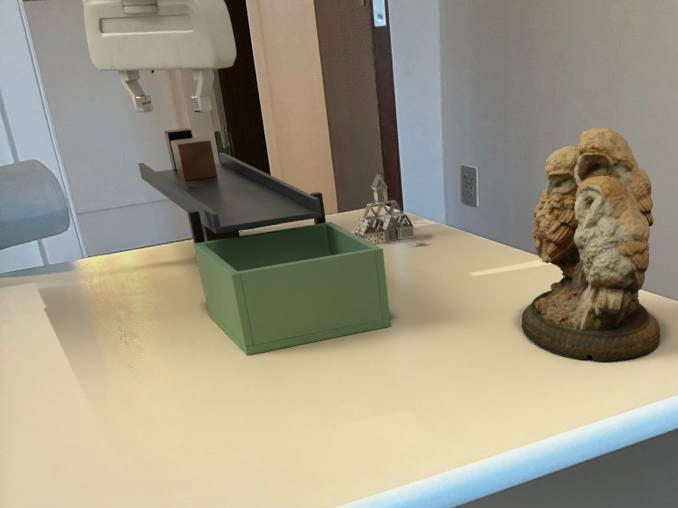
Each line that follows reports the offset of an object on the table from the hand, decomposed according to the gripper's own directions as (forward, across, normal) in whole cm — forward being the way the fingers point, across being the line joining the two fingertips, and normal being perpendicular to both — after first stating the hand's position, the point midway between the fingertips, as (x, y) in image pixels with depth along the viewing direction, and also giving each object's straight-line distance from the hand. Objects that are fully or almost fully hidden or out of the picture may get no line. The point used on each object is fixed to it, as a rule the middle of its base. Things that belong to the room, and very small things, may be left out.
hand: (173, 112), depth 119 cm
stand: (+15, +18, -14) cm, 28 cm away
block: (+6, +5, -4) cm, 9 cm away
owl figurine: (+16, +62, -20) cm, 67 cm away
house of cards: (+16, +25, +6) cm, 30 cm away
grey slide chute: (+7, +14, -11) cm, 19 cm away
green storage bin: (+15, +33, -25) cm, 44 cm away
